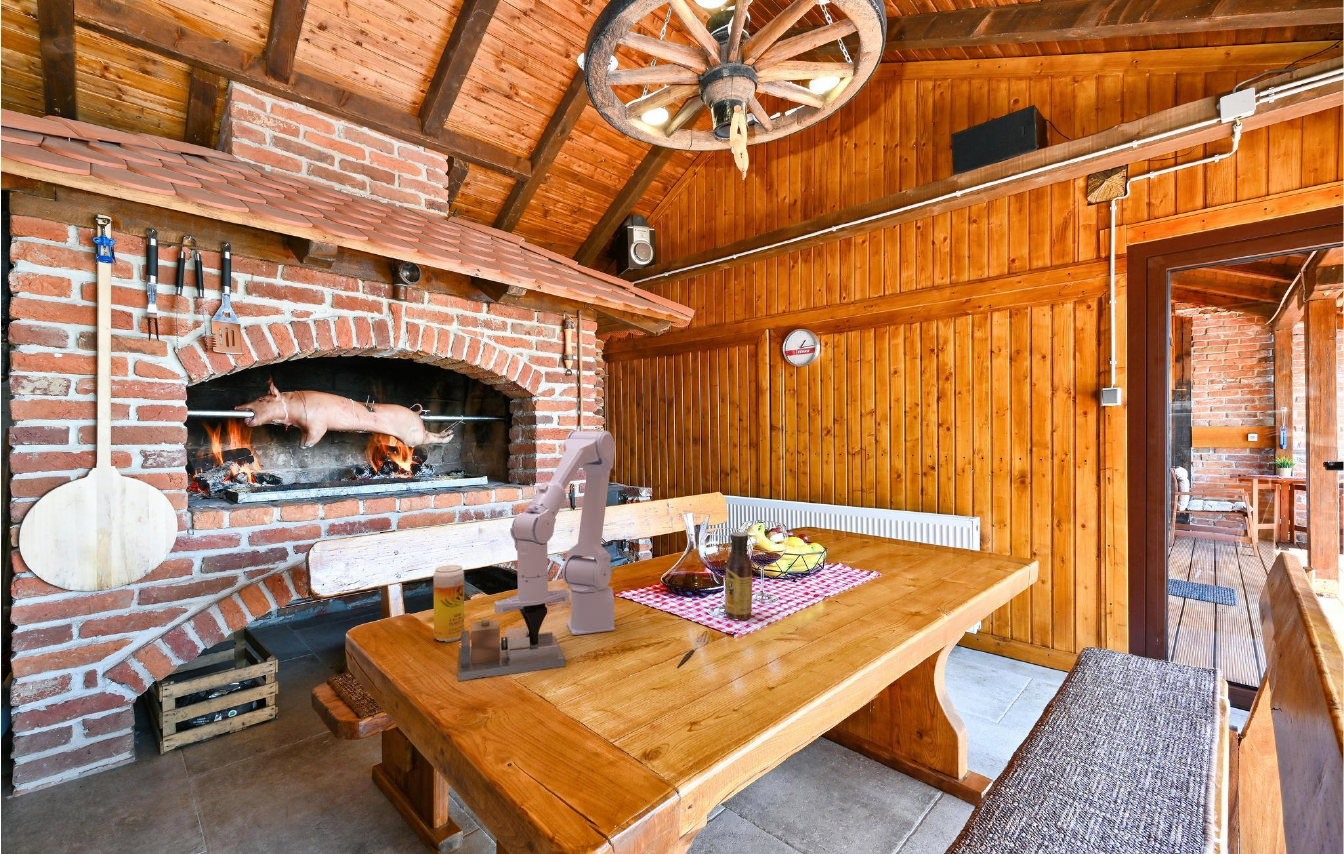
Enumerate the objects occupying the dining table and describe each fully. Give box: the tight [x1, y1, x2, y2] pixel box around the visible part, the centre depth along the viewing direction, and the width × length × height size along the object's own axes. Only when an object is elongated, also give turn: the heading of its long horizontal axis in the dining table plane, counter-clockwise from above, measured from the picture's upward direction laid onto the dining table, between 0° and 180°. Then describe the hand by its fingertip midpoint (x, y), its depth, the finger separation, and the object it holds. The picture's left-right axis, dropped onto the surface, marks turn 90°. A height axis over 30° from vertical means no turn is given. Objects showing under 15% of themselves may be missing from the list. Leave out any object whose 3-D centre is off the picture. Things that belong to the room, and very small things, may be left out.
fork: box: [676, 630, 710, 669], centre depth 119 cm, size 3×16×2 cm, turn 159°
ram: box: [500, 626, 530, 658], centre depth 115 cm, size 5×6×4 cm
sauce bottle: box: [724, 531, 753, 621], centre depth 140 cm, size 7×6×20 cm
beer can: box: [433, 564, 465, 643], centre depth 127 cm, size 6×6×15 cm
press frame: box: [457, 630, 566, 682], centre depth 115 cm, size 19×12×6 cm, turn 109°
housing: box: [470, 617, 501, 663], centre depth 114 cm, size 5×5×7 cm
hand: (533, 643), depth 116 cm, fingers closed
